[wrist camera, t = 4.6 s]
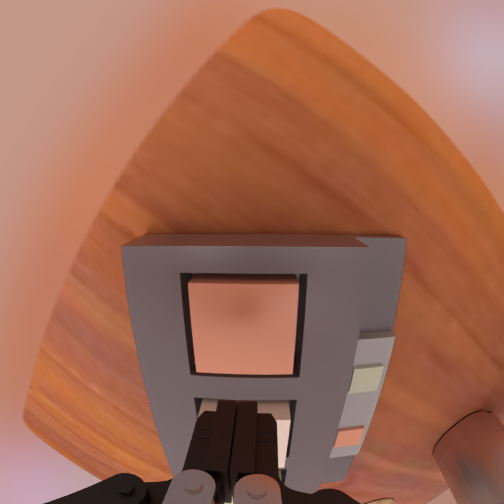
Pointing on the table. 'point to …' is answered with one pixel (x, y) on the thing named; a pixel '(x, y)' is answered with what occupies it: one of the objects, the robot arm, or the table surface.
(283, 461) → the key cream
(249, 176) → the table surface
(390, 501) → the hand bell
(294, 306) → the key terracotta
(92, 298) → the table surface
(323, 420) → the keypad
